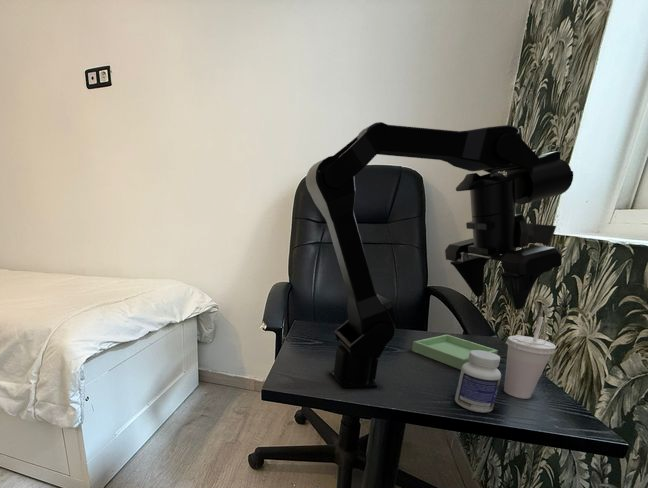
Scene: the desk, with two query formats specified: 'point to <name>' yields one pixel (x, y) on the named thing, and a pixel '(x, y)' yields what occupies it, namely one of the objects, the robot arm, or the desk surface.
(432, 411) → the desk surface
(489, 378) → the pill bottle
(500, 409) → the desk surface
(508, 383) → the smoothie
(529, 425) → the desk surface
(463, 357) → the tray
